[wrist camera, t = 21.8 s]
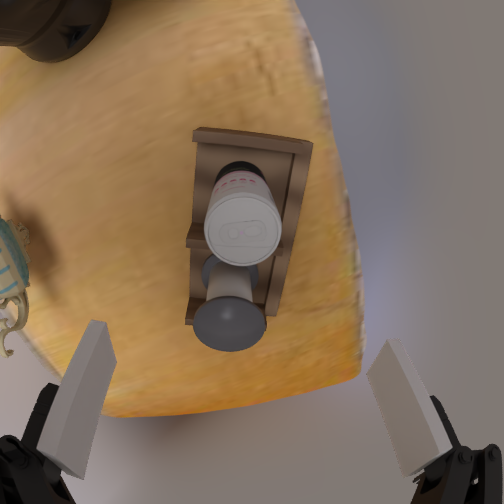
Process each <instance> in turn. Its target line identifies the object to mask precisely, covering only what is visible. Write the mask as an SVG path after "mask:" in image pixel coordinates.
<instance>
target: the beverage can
mask: <svg viewBox="0 0 504 504" xmlns="http://www.w3.org/2000/svg"><path fill="white" fill-rule="evenodd" d="M281 232H282V223H281V218H280V215H279V213H278V210H277V208H276V205H275V202H274V200H273V197H272V195H271V192H270V190H269V187H268V185H267V182H266V180H265V177H264V175H263V173H262V171H261V170H260V169H259V168H258V167H257V166H255V165H254V164H252V163H249V162H246V161H235V162H232V163H229V164H227V165H226V166H224V167H223V168H222V169H221V170H220V171H219V173H218V175H217V177H216V180H215V184H214V187H213V191H212V195H211V199H210V203H209V206H208V210H207V214H206V218H205V223H204V234H205V238H206V241H207V244H208V246H209V248H210V249H211V251H212V252H213V253H214V255H216V256H217V257H218V258H219V259H220V260H222V261H224V262H226V263H228V264H231V265H236V266H250V265H254V264H257V263H260V262H262V261H263V260H265V259H266V258H268V257H269V256H270V255H271V254H272V253H273V252H274V251H275V249H276V248H277V246H278V244H279V241H280V237H281Z"/></svg>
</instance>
